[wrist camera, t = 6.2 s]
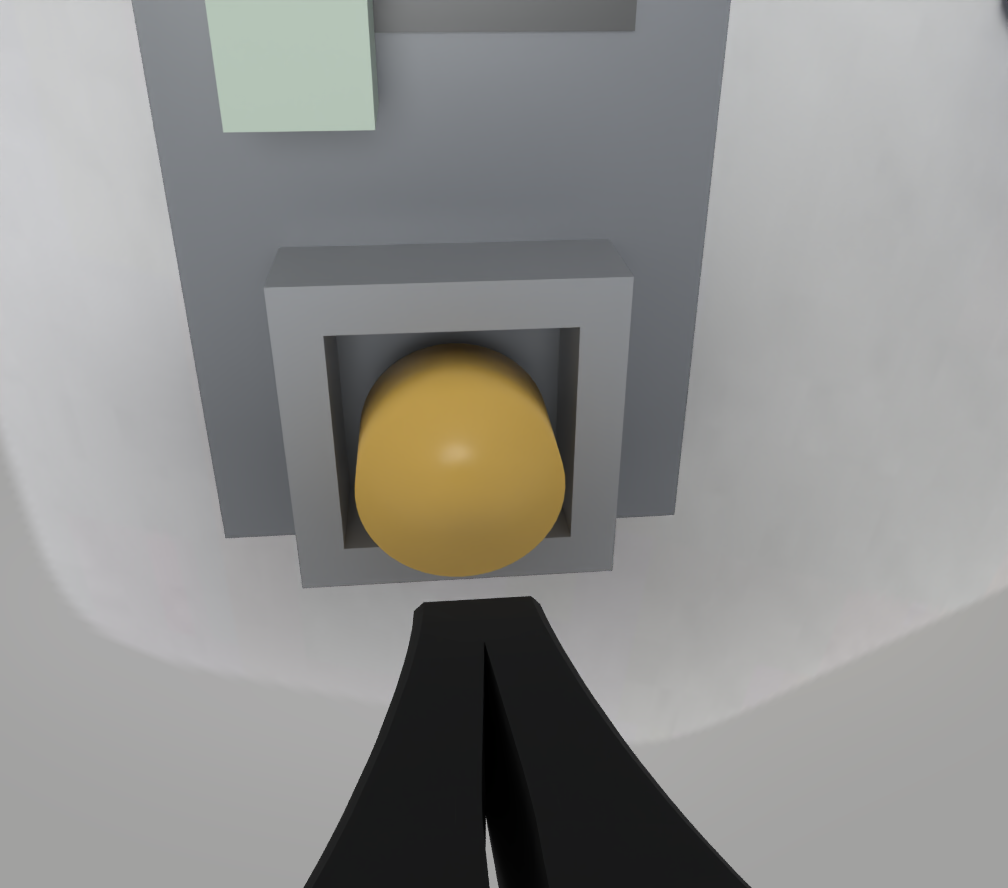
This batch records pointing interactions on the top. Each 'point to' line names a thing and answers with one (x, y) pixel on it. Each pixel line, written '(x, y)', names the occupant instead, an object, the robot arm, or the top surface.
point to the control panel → (448, 253)
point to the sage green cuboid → (294, 64)
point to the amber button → (457, 462)
